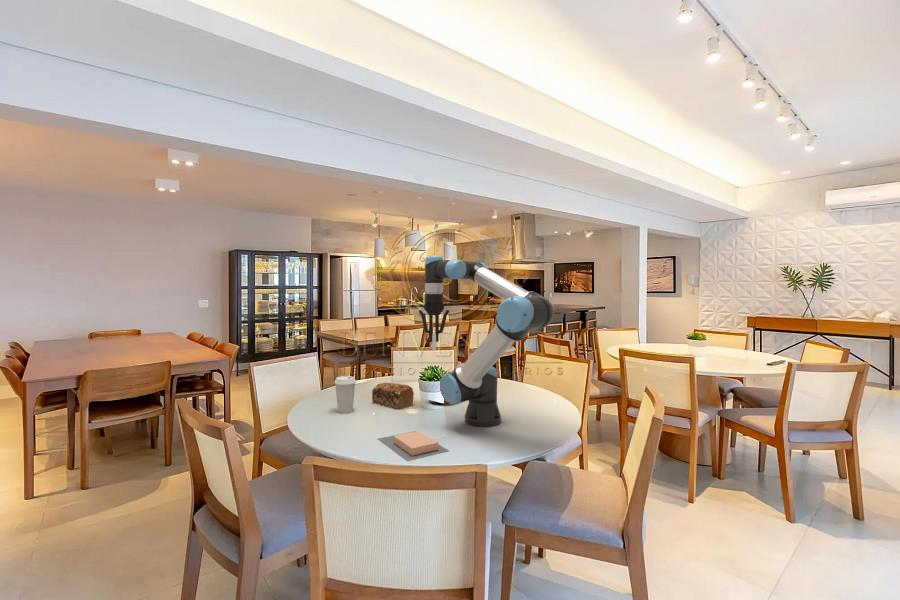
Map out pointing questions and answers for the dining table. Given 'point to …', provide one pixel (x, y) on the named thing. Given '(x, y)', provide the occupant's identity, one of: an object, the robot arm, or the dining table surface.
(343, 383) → the coffee cup
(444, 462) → the dining table surface
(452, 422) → the dining table surface
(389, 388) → the bread
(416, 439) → the tile
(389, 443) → the mat
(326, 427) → the dining table surface
